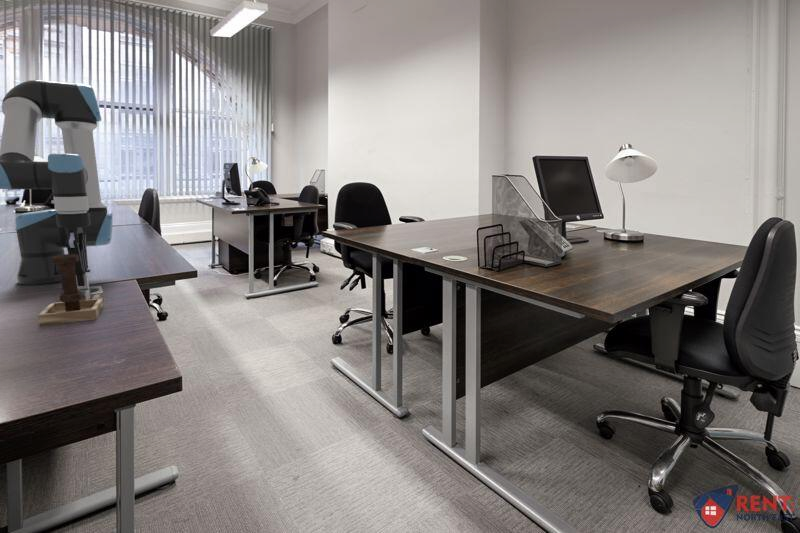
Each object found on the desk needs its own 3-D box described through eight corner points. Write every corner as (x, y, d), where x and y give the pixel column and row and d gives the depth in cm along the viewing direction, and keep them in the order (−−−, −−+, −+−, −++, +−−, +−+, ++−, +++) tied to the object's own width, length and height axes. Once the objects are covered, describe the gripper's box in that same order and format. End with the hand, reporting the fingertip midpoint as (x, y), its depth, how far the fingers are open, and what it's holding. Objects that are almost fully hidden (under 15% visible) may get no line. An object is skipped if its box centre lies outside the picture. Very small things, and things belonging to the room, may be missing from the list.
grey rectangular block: (76, 302, 127) (74, 289, 126) (91, 301, 129) (90, 288, 128) (70, 308, 121) (68, 295, 121) (87, 307, 123) (85, 293, 122)
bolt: (91, 310, 119) (83, 254, 116) (76, 316, 114) (67, 257, 111) (71, 310, 119) (62, 253, 116) (54, 315, 114) (45, 257, 111)
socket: (62, 301, 129) (61, 292, 129) (110, 297, 134) (109, 288, 133) (39, 325, 109) (38, 315, 109) (96, 319, 114) (95, 309, 113)
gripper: (61, 210, 128) (73, 292, 133) (48, 214, 116) (62, 303, 121) (93, 210, 131) (103, 289, 136) (84, 213, 119) (95, 300, 124)
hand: (83, 296), depth 128 cm, fingers closed
